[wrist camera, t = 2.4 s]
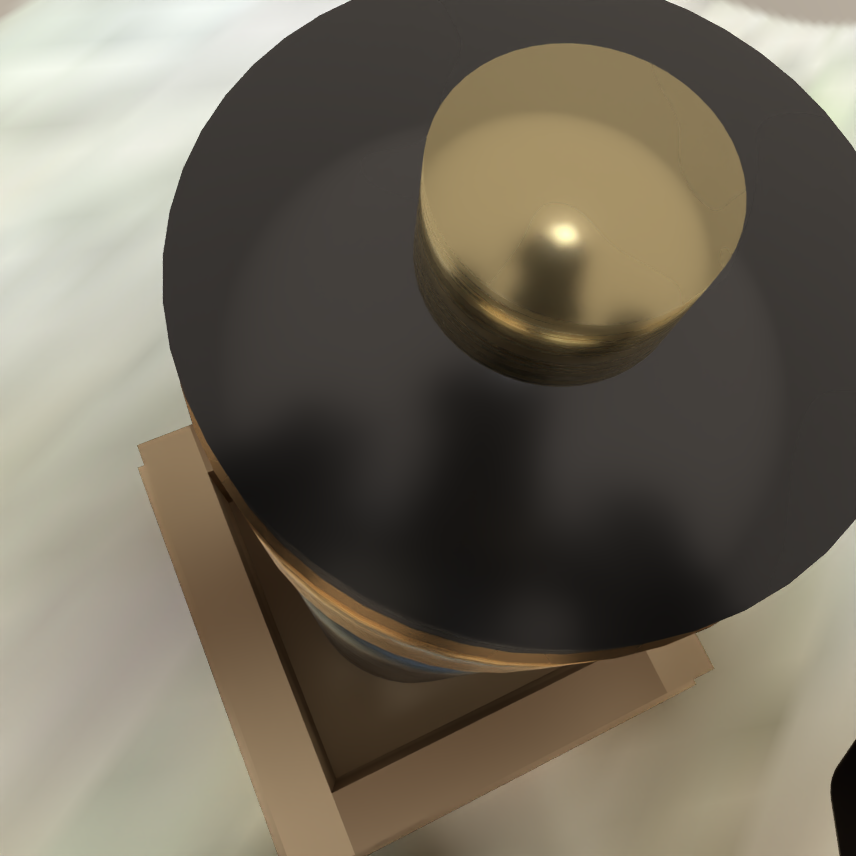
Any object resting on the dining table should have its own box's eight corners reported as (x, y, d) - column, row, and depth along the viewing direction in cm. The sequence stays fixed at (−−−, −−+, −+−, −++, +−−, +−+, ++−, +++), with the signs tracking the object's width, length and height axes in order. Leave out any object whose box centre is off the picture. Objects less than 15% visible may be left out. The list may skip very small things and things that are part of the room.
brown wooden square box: (678, 684, 18) (751, 683, 14) (296, 882, 16) (279, 932, 12) (500, 341, 20) (528, 271, 17) (149, 479, 18) (102, 431, 15)
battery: (553, 628, 17) (1223, 404, 4) (356, 724, 16) (335, 863, 3) (463, 442, 18) (732, -227, 5) (274, 520, 17) (-9, -43, 4)
